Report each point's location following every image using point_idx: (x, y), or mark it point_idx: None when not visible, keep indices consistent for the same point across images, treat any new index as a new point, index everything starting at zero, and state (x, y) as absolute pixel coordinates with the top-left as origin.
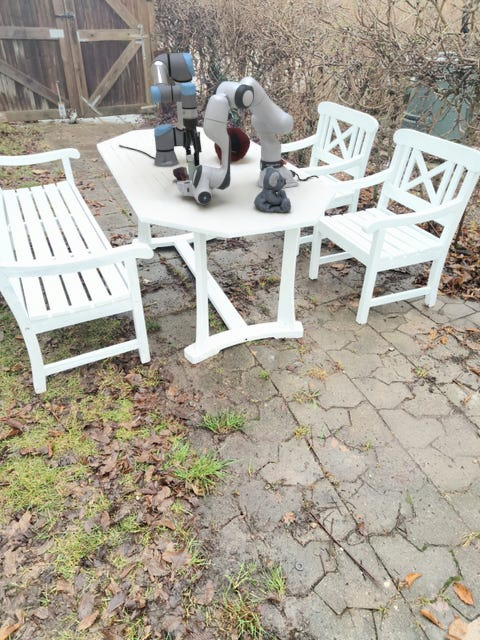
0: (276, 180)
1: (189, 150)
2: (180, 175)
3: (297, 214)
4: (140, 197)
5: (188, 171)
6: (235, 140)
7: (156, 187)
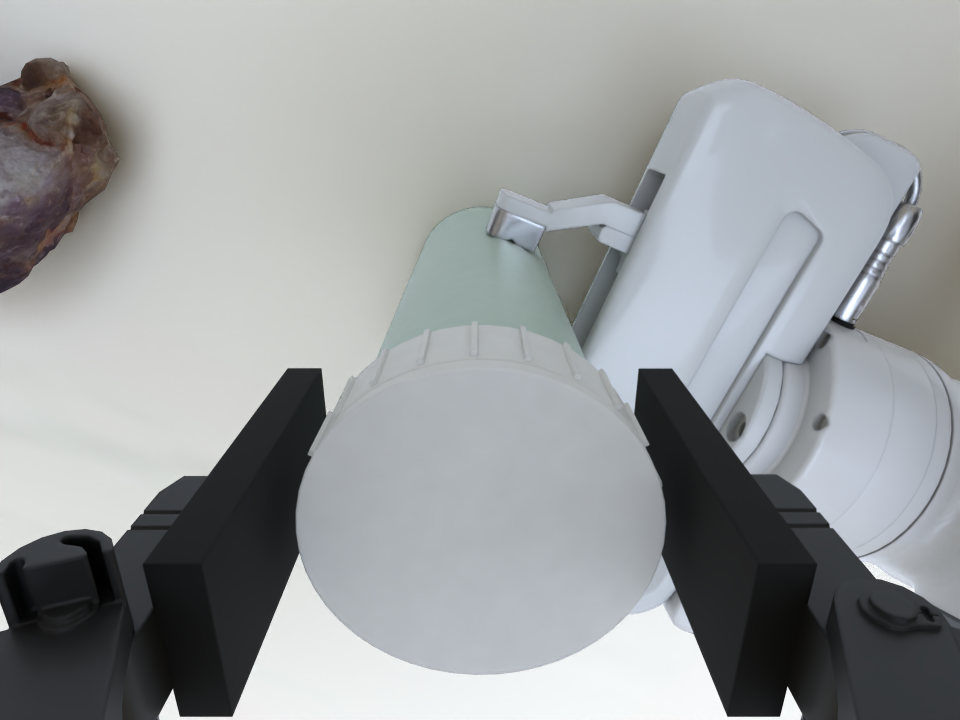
0: None
1: (224, 604)
2: (26, 261)
3: None
4: (309, 709)
5: None
6: None
7: (102, 509)
